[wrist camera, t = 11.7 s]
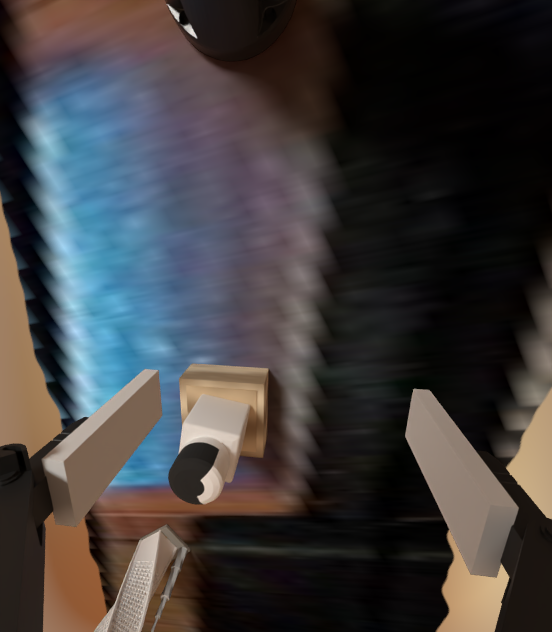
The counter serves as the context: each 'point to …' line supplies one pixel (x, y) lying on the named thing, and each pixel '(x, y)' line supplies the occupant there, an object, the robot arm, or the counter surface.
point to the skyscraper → (145, 580)
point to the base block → (231, 397)
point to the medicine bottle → (208, 449)
